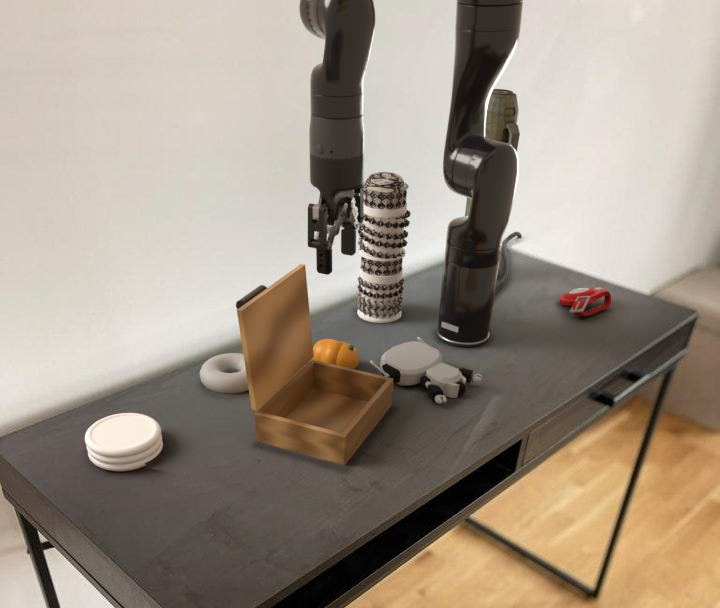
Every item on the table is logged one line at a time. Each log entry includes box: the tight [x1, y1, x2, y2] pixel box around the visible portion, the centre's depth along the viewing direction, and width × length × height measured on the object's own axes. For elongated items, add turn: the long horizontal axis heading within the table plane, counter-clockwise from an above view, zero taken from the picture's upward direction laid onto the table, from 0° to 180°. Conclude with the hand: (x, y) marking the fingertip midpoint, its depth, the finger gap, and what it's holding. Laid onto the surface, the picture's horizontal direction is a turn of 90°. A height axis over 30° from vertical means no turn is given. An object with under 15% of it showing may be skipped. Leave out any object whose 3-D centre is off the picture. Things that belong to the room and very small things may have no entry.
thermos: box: [464, 88, 521, 276], centre depth 150 cm, size 9×12×35 cm
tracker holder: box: [558, 286, 612, 317], centre depth 147 cm, size 12×4×10 cm
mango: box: [311, 338, 360, 370], centre depth 123 cm, size 8×5×5 cm, turn 66°
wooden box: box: [254, 359, 394, 466], centre depth 110 cm, size 14×18×5 cm
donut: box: [199, 352, 249, 395], centre depth 120 cm, size 10×4×10 cm
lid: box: [235, 263, 314, 412], centre depth 106 cm, size 14×18×5 cm
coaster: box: [84, 412, 164, 472], centre depth 103 cm, size 10×10×4 cm
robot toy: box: [369, 336, 483, 405], centre depth 121 cm, size 12×4×15 cm
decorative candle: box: [356, 171, 412, 324], centre depth 136 cm, size 9×9×25 cm
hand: (336, 263), depth 114 cm, fingers open, 8 cm apart
